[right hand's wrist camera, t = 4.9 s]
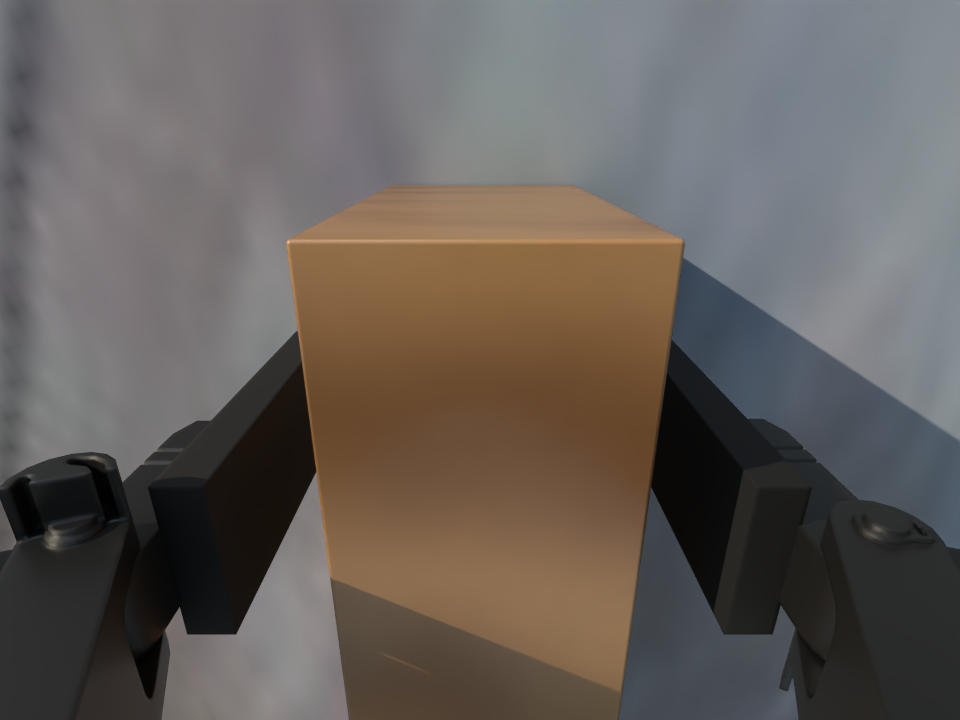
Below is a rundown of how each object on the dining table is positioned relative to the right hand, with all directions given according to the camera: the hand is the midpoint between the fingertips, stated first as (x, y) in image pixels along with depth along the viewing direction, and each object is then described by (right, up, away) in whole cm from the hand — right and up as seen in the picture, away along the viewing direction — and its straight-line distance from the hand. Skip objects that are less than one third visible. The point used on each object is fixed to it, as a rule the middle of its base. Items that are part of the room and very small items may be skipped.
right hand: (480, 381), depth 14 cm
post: (0, -20, +9) cm, 22 cm away
